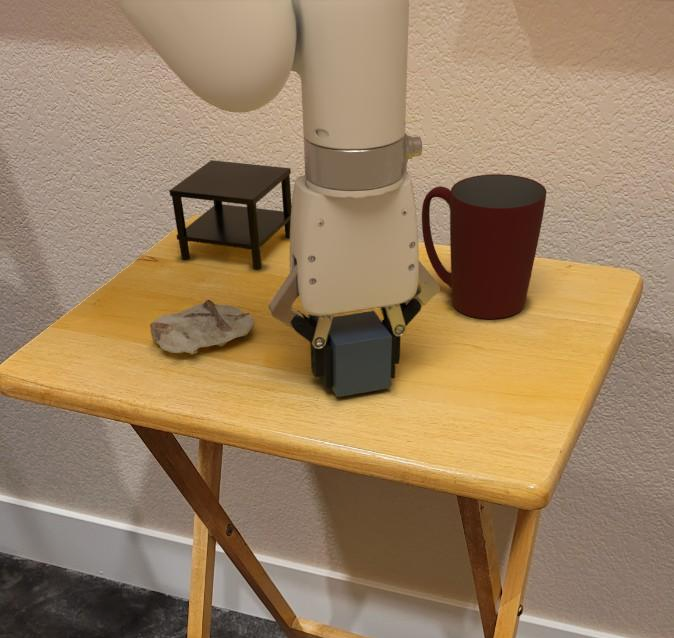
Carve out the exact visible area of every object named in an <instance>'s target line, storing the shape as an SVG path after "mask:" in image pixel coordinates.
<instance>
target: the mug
mask: <svg viewBox="0 0 674 638" xmlns="http://www.w3.org/2000/svg"><path fill="white" fill-rule="evenodd" d="M434 198H439V199H442V200H443V201H445V203H447V205H448V207H449V242H450V243H449V244H450V245H449V248H450V271H448V270H447V269H446V268H445V266H444V265H443V263H442V262H441V259H440V258H439V256H438V253H437V250H436V248H435V244H434V241H433V236H432V230H431V229H432V228H431V220H430V219H431V216H430V207H431V202H432V200H433V199H434ZM546 200H547V189H546V187H545V186H544V185H543V184H542V183H540V182H539V181H536V180H535V179H531V178H529V177H524V176H520V175H515V174H505V173H503V174H500V173H492V174H491V173H490V174H479V175H474V176H470V177H465V178H463V179H460V180H458V181H457V182H455V183H454V184H453V185H452V186H451V189H449V188H448V187H446V186H442V185H441V186H440V185H439V186H435V187H433V188H432V189H430V190H429V191H428V192H427V194H426V195H425V197H424V199H423V202H422V207H421V229H422V238H423V243H424V248H425V251H426V255H427V257H428V260H429V263H430V264H431V266H432V269H433V270H434V272H435V274H436V275H437V277H438V278H439V279H440V280H441V281H442V282H443V283H444V284H445V285H447V286H448V287H449V288H450V289H451V304H452V306H453V307H454V309H456V310H457V312H459V313H461V314H464V315H466V316H469V317H472V318H477V319H488V320H489V319H495V320H496V319H502V318H507V317H512V316H514V315H516V314H518V313H520V312H522V310H523V309H524V307H525V306H526V305H525V304H526V301H527V296H528V292H529V287H530V282H531V278H532V272H533V268H534V264H535V258H536V254H537V248H538V244H539V239H540V235H541V230H542V224H543V218H544V213H545V207H546V206H545V205H546Z"/></svg>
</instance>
